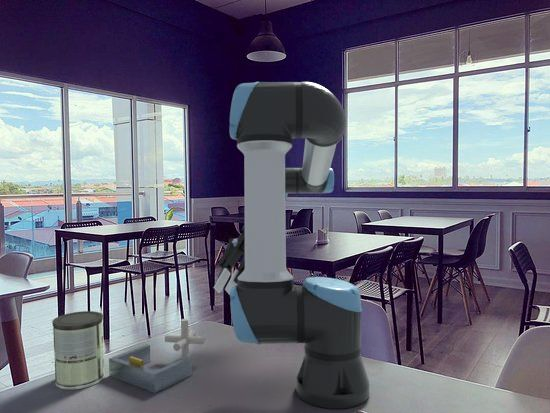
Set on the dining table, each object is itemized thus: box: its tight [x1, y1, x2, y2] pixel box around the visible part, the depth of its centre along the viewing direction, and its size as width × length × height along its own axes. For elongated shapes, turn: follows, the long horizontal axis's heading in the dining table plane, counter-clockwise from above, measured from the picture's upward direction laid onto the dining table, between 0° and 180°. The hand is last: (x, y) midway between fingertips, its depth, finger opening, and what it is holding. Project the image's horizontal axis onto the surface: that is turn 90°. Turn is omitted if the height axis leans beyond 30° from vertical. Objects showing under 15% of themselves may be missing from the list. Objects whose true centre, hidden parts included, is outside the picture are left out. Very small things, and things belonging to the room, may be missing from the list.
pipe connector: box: [164, 318, 207, 359], centre depth 111 cm, size 10×10×10 cm
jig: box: [108, 344, 193, 394], centre depth 103 cm, size 15×11×5 cm
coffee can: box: [51, 310, 106, 391], centre depth 101 cm, size 10×10×14 cm
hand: (222, 291), depth 123 cm, fingers open, 3 cm apart
